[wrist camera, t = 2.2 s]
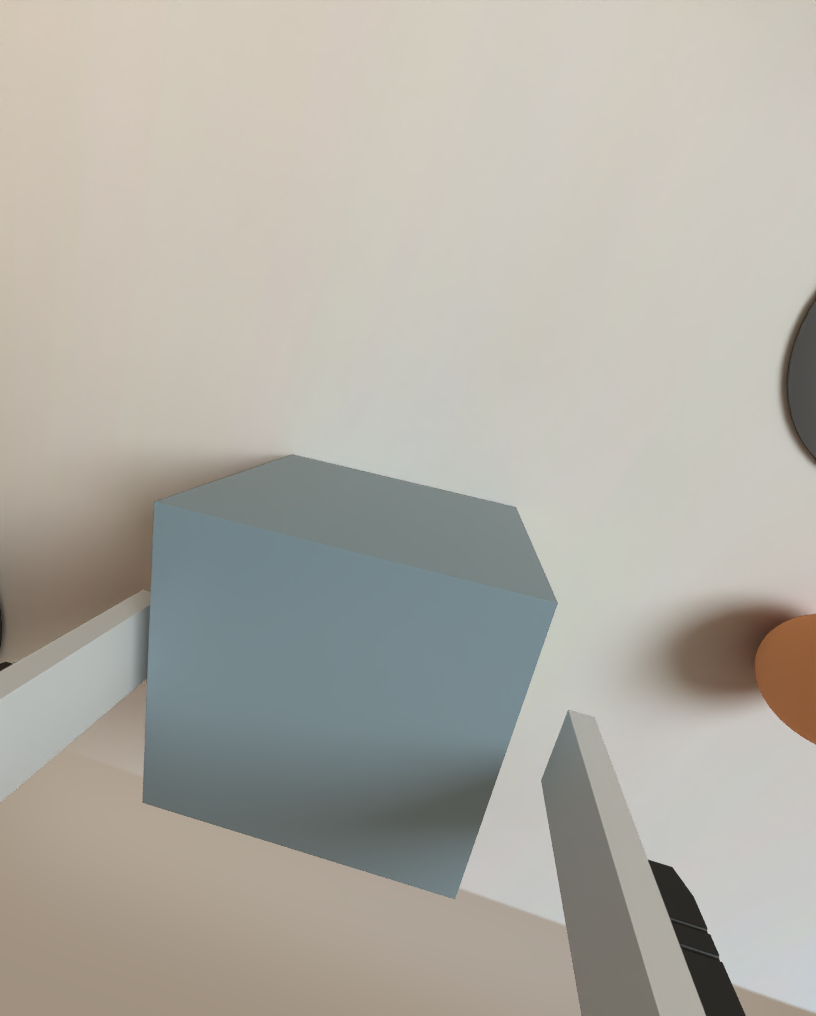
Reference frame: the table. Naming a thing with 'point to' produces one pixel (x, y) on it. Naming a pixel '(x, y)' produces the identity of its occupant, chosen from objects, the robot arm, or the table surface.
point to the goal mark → (804, 381)
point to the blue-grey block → (339, 662)
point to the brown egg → (790, 673)
